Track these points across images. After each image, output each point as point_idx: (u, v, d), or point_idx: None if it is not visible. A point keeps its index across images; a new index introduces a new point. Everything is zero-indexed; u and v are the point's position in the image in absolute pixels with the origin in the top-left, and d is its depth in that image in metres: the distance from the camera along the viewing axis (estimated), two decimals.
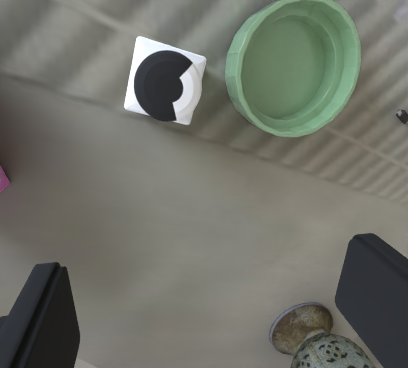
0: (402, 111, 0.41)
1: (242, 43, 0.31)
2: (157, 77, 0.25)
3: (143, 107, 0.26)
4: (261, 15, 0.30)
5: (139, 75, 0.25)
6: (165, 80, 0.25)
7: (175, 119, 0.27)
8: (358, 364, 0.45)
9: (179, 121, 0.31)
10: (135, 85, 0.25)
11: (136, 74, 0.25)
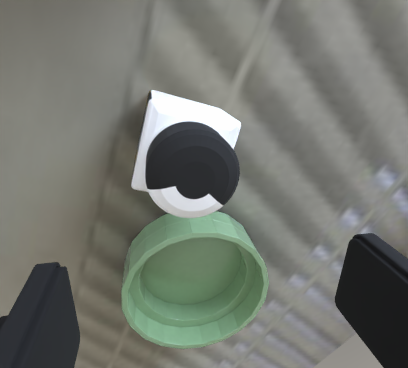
0: None
1: (226, 234, 0.28)
2: (208, 165, 0.17)
3: (165, 142, 0.17)
4: (252, 248, 0.29)
5: (211, 138, 0.17)
6: (205, 176, 0.18)
7: (149, 188, 0.18)
8: None
9: (136, 175, 0.22)
10: (196, 132, 0.17)
11: (211, 134, 0.17)
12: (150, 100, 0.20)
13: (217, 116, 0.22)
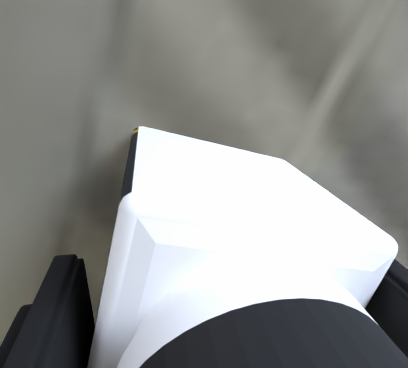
0: None
1: None
2: None
3: None
4: None
5: None
6: None
7: None
8: None
9: None
10: None
11: None
12: (126, 200, 0.06)
13: (338, 231, 0.07)
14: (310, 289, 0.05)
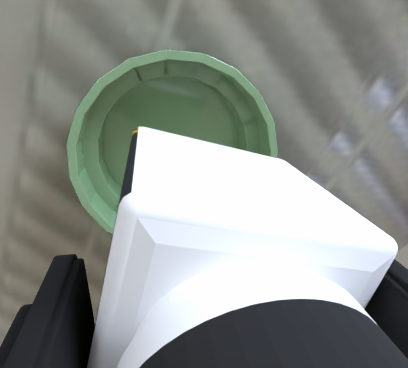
0: None
1: (218, 60, 0.19)
2: None
3: None
4: (255, 89, 0.20)
5: None
6: None
7: None
8: None
9: None
10: None
11: None
12: (126, 200, 0.06)
13: (337, 232, 0.07)
14: (310, 289, 0.05)
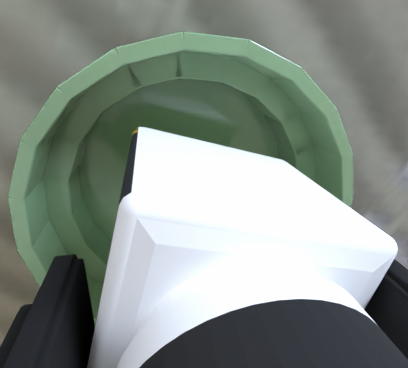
0: None
1: None
2: None
3: None
4: (328, 102, 0.12)
5: None
6: None
7: None
8: None
9: None
10: None
11: None
12: (126, 201, 0.06)
13: (337, 232, 0.07)
14: (310, 290, 0.05)
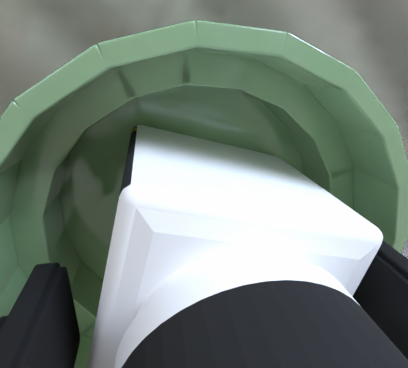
0: None
1: None
2: None
3: None
4: (388, 117, 0.09)
5: None
6: None
7: None
8: None
9: None
10: None
11: None
12: (126, 192, 0.06)
13: (325, 221, 0.07)
14: (296, 272, 0.06)
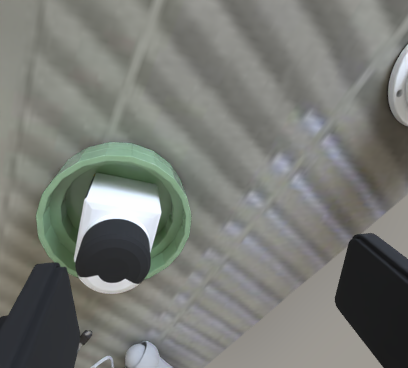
0: (89, 335, 0.39)
1: (142, 159, 0.28)
2: (123, 260, 0.23)
3: (89, 245, 0.23)
4: (170, 176, 0.29)
5: (124, 241, 0.23)
6: (121, 267, 0.24)
7: (78, 275, 0.24)
8: None
9: (76, 253, 0.28)
10: (112, 237, 0.23)
11: (124, 237, 0.23)
12: (85, 199, 0.26)
13: (141, 207, 0.27)
14: (122, 217, 0.26)
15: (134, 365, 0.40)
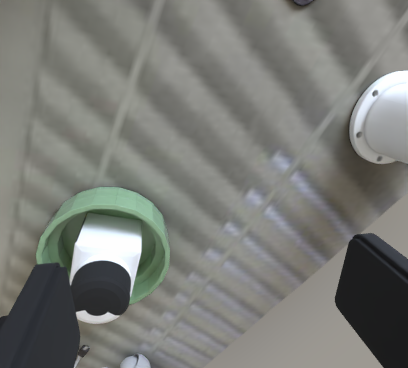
0: (87, 349, 0.44)
1: (124, 206, 0.33)
2: (105, 298, 0.28)
3: (76, 286, 0.28)
4: (149, 219, 0.34)
5: (105, 282, 0.28)
6: (104, 303, 0.28)
7: None
8: None
9: None
10: (96, 279, 0.28)
11: (106, 279, 0.28)
12: (75, 243, 0.31)
13: (123, 248, 0.32)
14: (106, 259, 0.31)
15: None
